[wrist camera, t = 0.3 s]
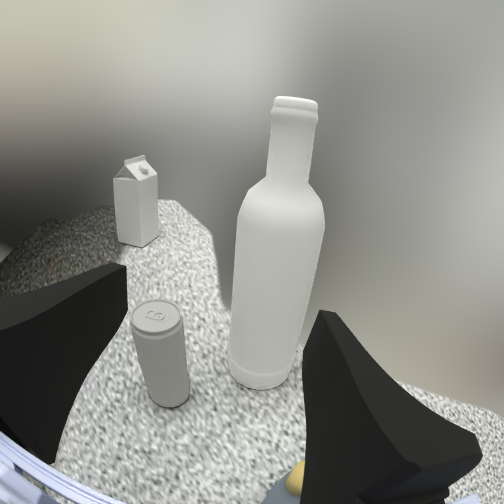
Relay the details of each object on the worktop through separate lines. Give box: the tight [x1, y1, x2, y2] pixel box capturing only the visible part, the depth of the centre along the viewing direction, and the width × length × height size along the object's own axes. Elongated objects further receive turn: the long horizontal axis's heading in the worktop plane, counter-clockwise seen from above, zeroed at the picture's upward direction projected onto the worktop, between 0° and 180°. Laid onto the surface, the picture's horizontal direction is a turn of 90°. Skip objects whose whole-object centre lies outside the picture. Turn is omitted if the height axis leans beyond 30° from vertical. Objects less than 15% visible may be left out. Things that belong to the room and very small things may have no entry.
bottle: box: [228, 96, 325, 390], centre depth 27 cm, size 8×8×30 cm
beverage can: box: [130, 299, 190, 407], centre depth 26 cm, size 5×5×12 cm
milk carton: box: [113, 155, 159, 247], centre depth 59 cm, size 7×7×19 cm
